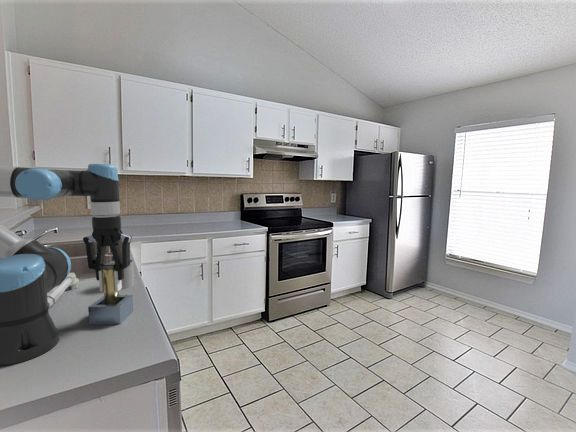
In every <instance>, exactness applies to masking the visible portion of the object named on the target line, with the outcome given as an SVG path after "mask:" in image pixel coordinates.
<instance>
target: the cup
mask: <svg viewBox="0 0 576 432" xmlns="http://www.w3.org/2000/svg"><path fill="white" fill-rule="evenodd" d="M109 263H115V262H114V260H112V261H110V262H109ZM121 281H122V289H121V290H127V289H131V288H132V287H133V286H134V285H135V276H134V261H133V259H130V266H128V267H127V268H124V279H122V280H121Z"/></svg>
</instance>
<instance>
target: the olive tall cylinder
mask: <svg viewBox="0 0 576 432" xmlns="http://www.w3.org/2000/svg"><path fill="white" fill-rule="evenodd" d="M115 270H116V265H115V263H110V262H107V263H105V262H104V264H103V265H102V274H103V288H104V291H103V296H104V303H105V305H117V304H118V303H119V295H120V293H119V291H120V290H119V291H117V292H115V279H114V271H115Z"/></svg>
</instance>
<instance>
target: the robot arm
mask: <svg viewBox="0 0 576 432" xmlns="http://www.w3.org/2000/svg"><path fill="white" fill-rule="evenodd" d="M119 182H120V179H119V175H118V167H117V166H116V165H115V164H111V163H89V164H88V165H87V169H85V170H73V169H72V170H70V169H69V170H68V169H49V168H41V167H25V166H24V167H23V166H11V165H0V197H1V198H2V197H3V198H16V199H17V198H20V199H28V200H32V201H48V200H51V199H56V198H57V199H58V198H64V197H90V200H89V201H90V213H91V216H92V218H91V225H92V232H91V235H87V236H84V237H82V241H83V242H84V245H85V251H86V259H87V264H88V265H87V267H88V268H89V270H94V271H95V278H96V279H95V280H96V281H98V283H99V292H100V293H102V292H103V293H104V288H103V274H102V265H103V264H105V256H106V255H105V254H106V248H107V247H109V250H110V251H111V254H112V257H113V261H114V262H115V265H116V270H115V271H114V279H115V292H117V291H120V290H123V289H122V281H121V280H122V279H124V268H127V267H128V266H130V260H131V241H132V238H133V237H132V235H126V234H125V233H123V230H122V219H121V218H122V217H121V216H120V215H119V214H121V205H120V204H121V203H120V186H119V184H120V183H119ZM120 240H121V242H122V246H121V247H122V248H121V249H122V251H121V249H120ZM95 241H96V245H95ZM121 252H122V253H121ZM71 270H72V263H71V258H70V257H69V255H68V254H67V253H66V252H65V251H64V250H62V249H60V248H57V247H53V246H45V244H42V243H41V242H39V241H37V239H34V238H31V239H24V238H23V237H21V236H19V234H16V233H15V232H13V231H11V230H10V229H9V228H7V227H5V226H4V225H2V224H1V223H0V367H3V366H9V365H14V364H18V363H22V362H25V361H29V360H31V359H34V358H38V357H39V356H41V355H43V354H45V353H47V352H49V351H50V350H52V349H53V348H54V347H56V345H57V344H59V341H60V333H59V329H58V328H57V327H56V324H55V322H54V321H53V319H52V317H51V315H50V313H49V309H48V300H47V294H48V293H49V292H50V291H51V290H52V289H53V288H55V287H56V286H58V285H60V284H61V283H62V282H63V281H64V280H65V278H66V277H67V276H68V274H69V273H71Z"/></svg>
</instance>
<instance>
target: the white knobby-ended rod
mask: <svg viewBox="0 0 576 432" xmlns="http://www.w3.org/2000/svg"><path fill="white" fill-rule="evenodd" d="M79 282H80V280H79V278H77V276H76V274H75V272H69V274H68V276H67V277H66V278H65V280H64V281H63V282H62V283H61V284H60V285H58V286H56V287H55V288H53V289H52V290H51V291H50V292H48V293H47V300H48V310H49V309H51V308H52V307H53V306H54V305H56V301H57V300H58V299H59V298H60V297H61V295H62V294H63V293H64V292H65V291H73V290H75V289H78V288H79Z"/></svg>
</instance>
